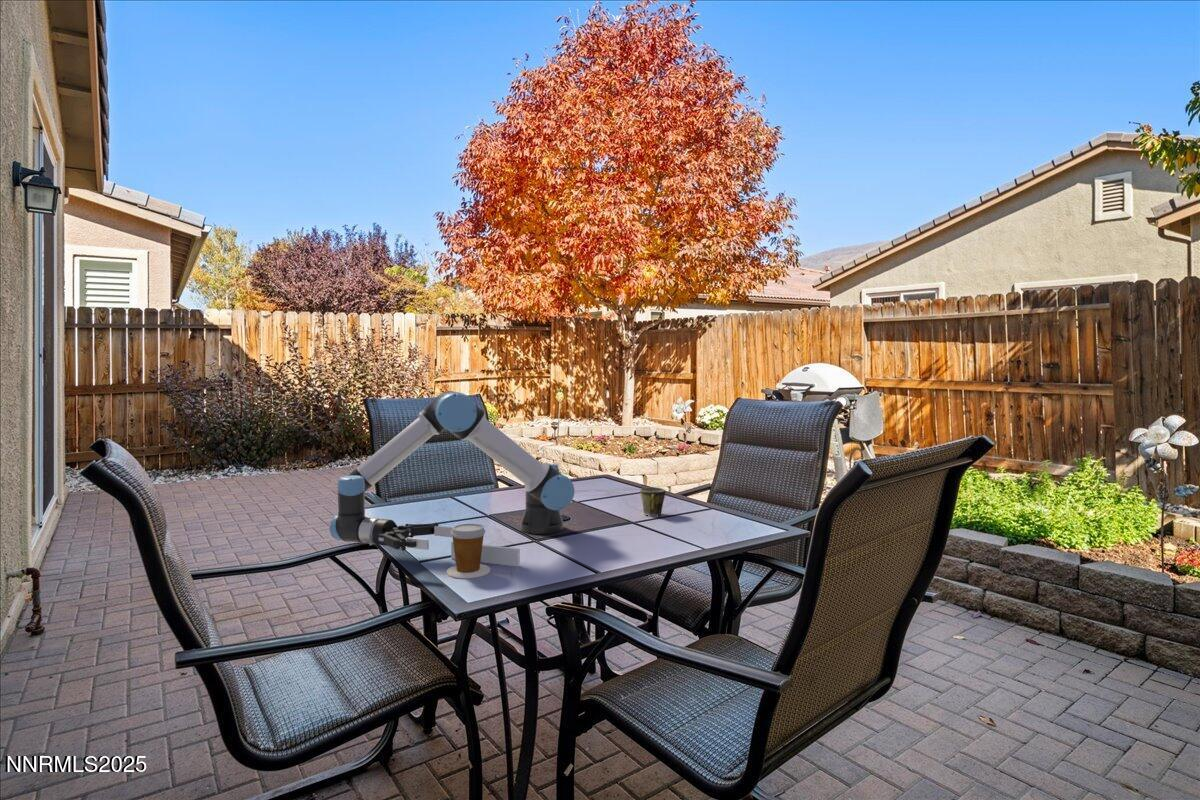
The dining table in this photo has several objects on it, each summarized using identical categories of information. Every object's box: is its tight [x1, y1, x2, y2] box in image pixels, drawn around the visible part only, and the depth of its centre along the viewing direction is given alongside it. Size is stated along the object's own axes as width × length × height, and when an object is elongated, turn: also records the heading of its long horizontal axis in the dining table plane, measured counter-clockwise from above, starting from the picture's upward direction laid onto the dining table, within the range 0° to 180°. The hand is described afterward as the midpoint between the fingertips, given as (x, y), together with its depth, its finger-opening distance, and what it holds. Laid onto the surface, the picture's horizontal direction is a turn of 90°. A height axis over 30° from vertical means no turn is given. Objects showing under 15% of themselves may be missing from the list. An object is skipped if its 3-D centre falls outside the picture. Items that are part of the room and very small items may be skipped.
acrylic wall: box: [450, 541, 521, 568], centre depth 192 cm, size 22×1×5 cm, turn 71°
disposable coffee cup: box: [451, 523, 486, 573], centre depth 184 cm, size 10×10×12 cm
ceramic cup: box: [639, 486, 667, 517], centre depth 253 cm, size 13×10×10 cm
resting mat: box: [446, 563, 491, 580], centre depth 183 cm, size 12×12×1 cm
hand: (441, 538), depth 186 cm, fingers open, 13 cm apart
